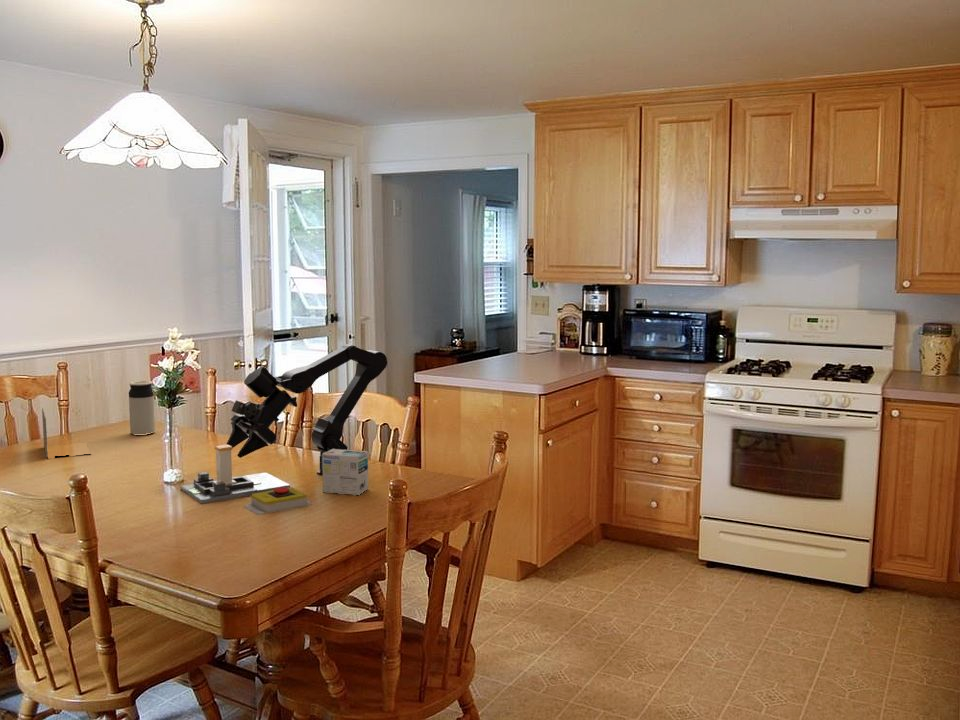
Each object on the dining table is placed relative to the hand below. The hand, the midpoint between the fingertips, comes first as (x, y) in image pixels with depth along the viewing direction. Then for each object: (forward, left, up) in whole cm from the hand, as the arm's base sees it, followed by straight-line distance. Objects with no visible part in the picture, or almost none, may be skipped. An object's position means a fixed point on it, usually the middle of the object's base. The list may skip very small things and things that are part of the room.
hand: (232, 453), depth 225 cm
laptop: (+77, +3, -10) cm, 77 cm away
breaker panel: (0, -1, -10) cm, 10 cm away
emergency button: (-20, +2, -11) cm, 23 cm away
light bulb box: (-25, -17, -10) cm, 32 cm away
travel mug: (+81, -27, -10) cm, 86 cm away
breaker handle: (+1, +2, -9) cm, 9 cm away
